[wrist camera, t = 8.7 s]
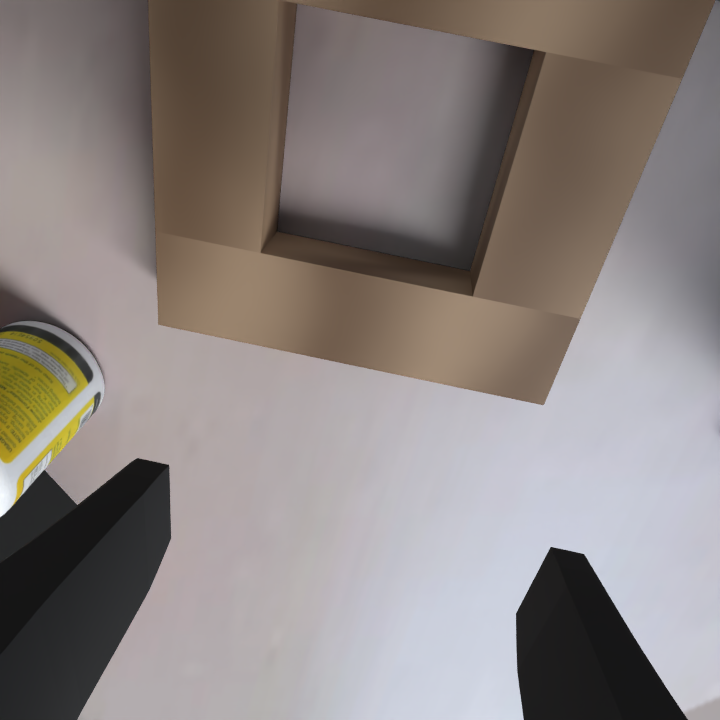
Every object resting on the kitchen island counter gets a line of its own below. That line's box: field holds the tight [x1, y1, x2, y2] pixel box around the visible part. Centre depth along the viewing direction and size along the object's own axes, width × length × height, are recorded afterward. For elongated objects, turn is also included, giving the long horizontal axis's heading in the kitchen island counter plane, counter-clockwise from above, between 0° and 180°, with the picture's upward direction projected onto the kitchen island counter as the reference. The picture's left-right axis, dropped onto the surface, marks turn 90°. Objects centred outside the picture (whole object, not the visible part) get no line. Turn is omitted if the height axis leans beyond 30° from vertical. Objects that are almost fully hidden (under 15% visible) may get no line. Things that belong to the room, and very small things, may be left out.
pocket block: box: [148, 0, 715, 405], centre depth 16 cm, size 13×13×2 cm
